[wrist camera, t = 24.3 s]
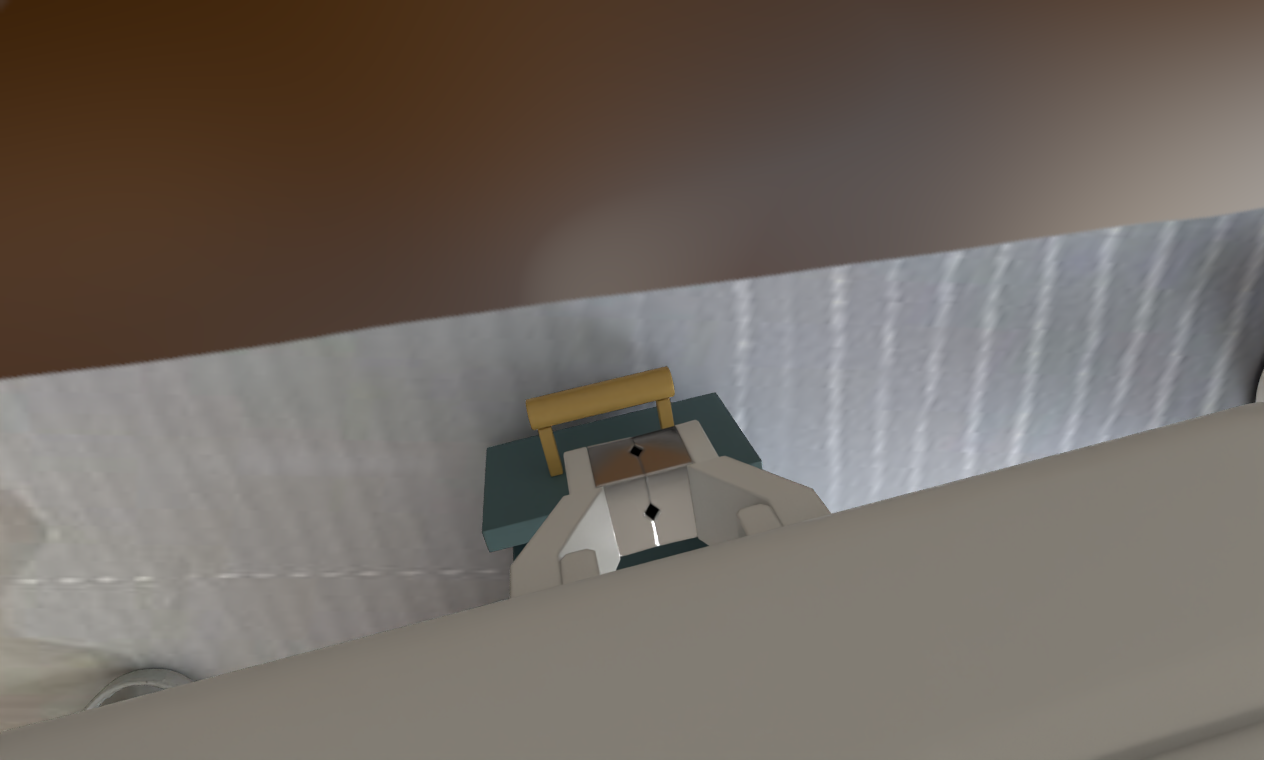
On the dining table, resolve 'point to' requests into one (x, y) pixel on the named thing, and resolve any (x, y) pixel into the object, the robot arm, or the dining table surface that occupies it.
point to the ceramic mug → (140, 683)
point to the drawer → (535, 469)
